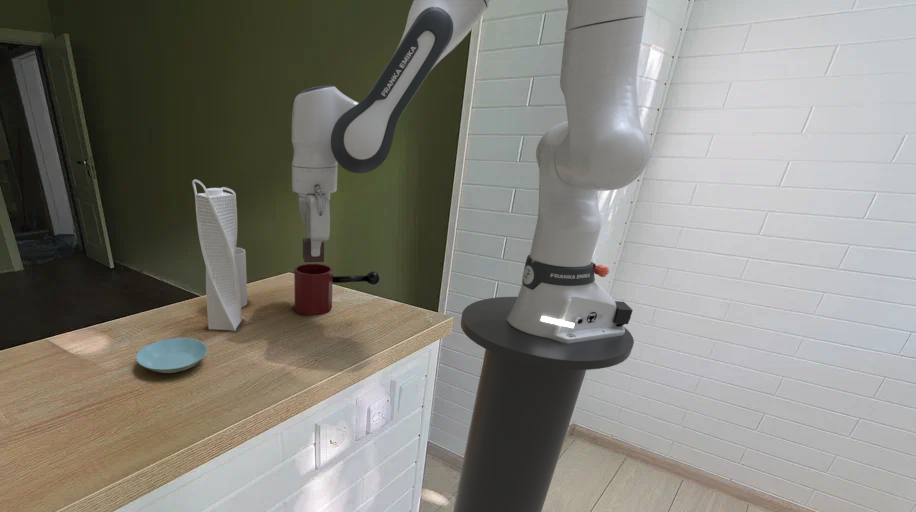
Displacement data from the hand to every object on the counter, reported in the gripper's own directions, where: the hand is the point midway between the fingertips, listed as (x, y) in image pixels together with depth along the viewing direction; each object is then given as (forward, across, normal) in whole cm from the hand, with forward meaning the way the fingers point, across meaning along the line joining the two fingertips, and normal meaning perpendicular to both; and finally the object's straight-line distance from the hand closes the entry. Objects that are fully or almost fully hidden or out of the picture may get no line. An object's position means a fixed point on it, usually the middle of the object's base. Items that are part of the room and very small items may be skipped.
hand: (313, 251), depth 100 cm
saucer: (+13, -23, +27) cm, 38 cm away
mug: (+13, +3, +18) cm, 22 cm away
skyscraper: (+13, -7, +19) cm, 24 cm away
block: (+2, 0, 0) cm, 2 cm away
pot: (+13, 0, -5) cm, 14 cm away
